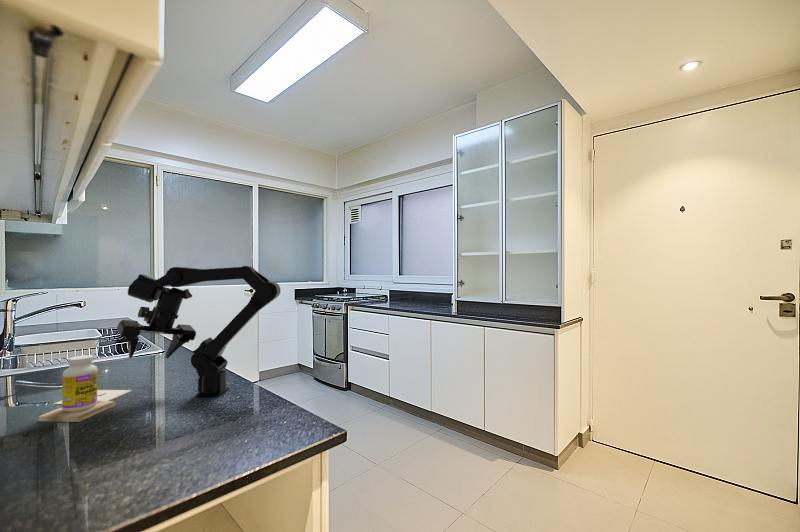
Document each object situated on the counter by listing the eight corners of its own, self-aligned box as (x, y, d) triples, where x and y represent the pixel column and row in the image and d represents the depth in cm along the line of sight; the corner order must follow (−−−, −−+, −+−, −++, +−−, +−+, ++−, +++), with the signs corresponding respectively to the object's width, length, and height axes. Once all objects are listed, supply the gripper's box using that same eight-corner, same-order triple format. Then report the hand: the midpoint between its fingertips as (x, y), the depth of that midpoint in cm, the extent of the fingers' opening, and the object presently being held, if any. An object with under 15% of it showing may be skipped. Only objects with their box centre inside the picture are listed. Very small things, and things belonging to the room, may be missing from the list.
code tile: (132, 390, 105) (132, 389, 105) (99, 404, 94) (99, 403, 94) (90, 390, 106) (90, 389, 106) (53, 404, 95) (53, 403, 95)
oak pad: (114, 405, 94) (114, 401, 94) (79, 421, 84) (79, 416, 84) (78, 405, 94) (78, 400, 94) (38, 421, 84) (38, 416, 84)
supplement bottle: (72, 414, 85) (72, 361, 85) (55, 410, 87) (56, 359, 87) (103, 404, 91) (103, 355, 91) (87, 401, 93) (87, 353, 94)
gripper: (191, 302, 114) (175, 346, 114) (122, 293, 99) (103, 344, 100) (204, 315, 107) (186, 362, 107) (132, 307, 92) (111, 362, 93)
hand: (148, 357), depth 102 cm, fingers open, 9 cm apart
